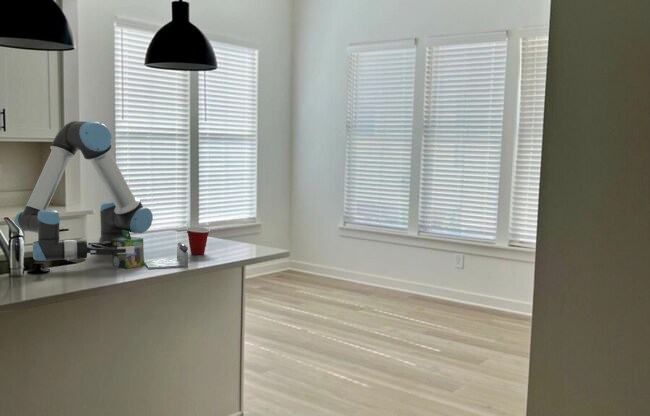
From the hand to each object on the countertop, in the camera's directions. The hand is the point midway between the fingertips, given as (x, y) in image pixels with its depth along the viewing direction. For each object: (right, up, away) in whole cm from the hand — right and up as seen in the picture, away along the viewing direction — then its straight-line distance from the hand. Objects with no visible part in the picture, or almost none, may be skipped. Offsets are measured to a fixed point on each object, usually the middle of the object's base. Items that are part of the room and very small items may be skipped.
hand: (132, 246), depth 250 cm
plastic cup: (+21, -5, +30) cm, 37 cm away
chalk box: (-2, -8, +1) cm, 8 cm away
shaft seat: (+12, -8, +6) cm, 15 cm away
